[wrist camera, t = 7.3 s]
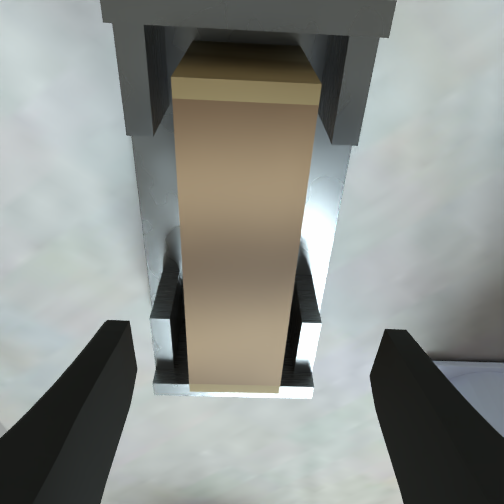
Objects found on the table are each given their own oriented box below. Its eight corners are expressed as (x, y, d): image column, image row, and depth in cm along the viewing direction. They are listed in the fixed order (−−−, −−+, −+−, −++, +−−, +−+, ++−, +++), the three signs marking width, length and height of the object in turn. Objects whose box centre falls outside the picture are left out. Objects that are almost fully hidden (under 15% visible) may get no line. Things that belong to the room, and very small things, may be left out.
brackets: (312, 320, 23) (326, 400, 19) (157, 316, 23) (138, 396, 19) (375, -17, 14) (427, -3, 10) (119, -32, 14) (66, -24, 10)
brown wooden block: (272, 308, 21) (278, 393, 17) (200, 306, 21) (189, 391, 17) (300, 45, 14) (322, 84, 10) (192, 40, 14) (171, 76, 10)
